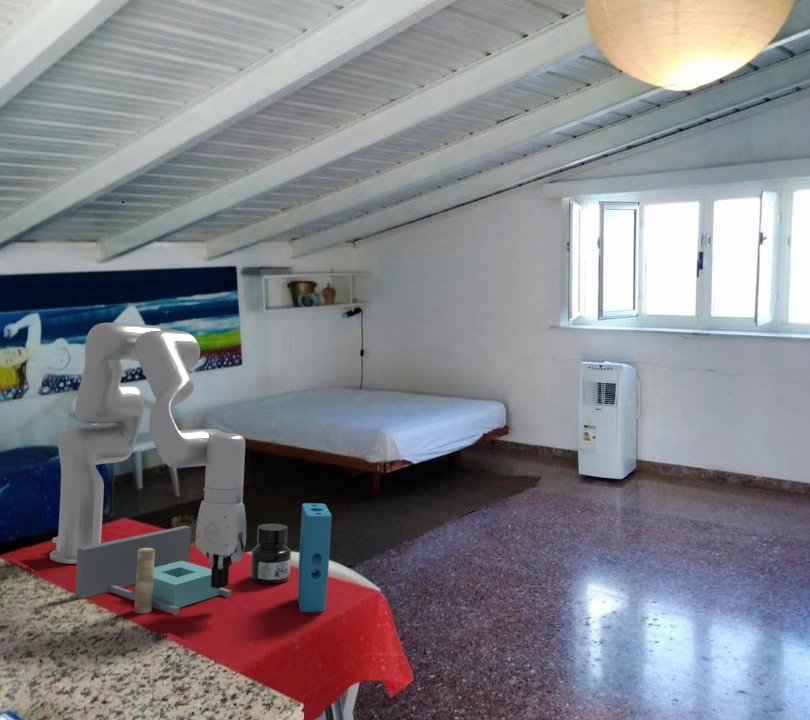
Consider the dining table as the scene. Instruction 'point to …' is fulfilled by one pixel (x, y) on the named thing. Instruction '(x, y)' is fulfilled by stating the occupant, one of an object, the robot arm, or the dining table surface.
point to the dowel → (144, 580)
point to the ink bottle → (271, 555)
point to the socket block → (182, 583)
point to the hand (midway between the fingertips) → (219, 586)
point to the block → (314, 557)
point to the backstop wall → (130, 563)
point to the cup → (186, 522)
